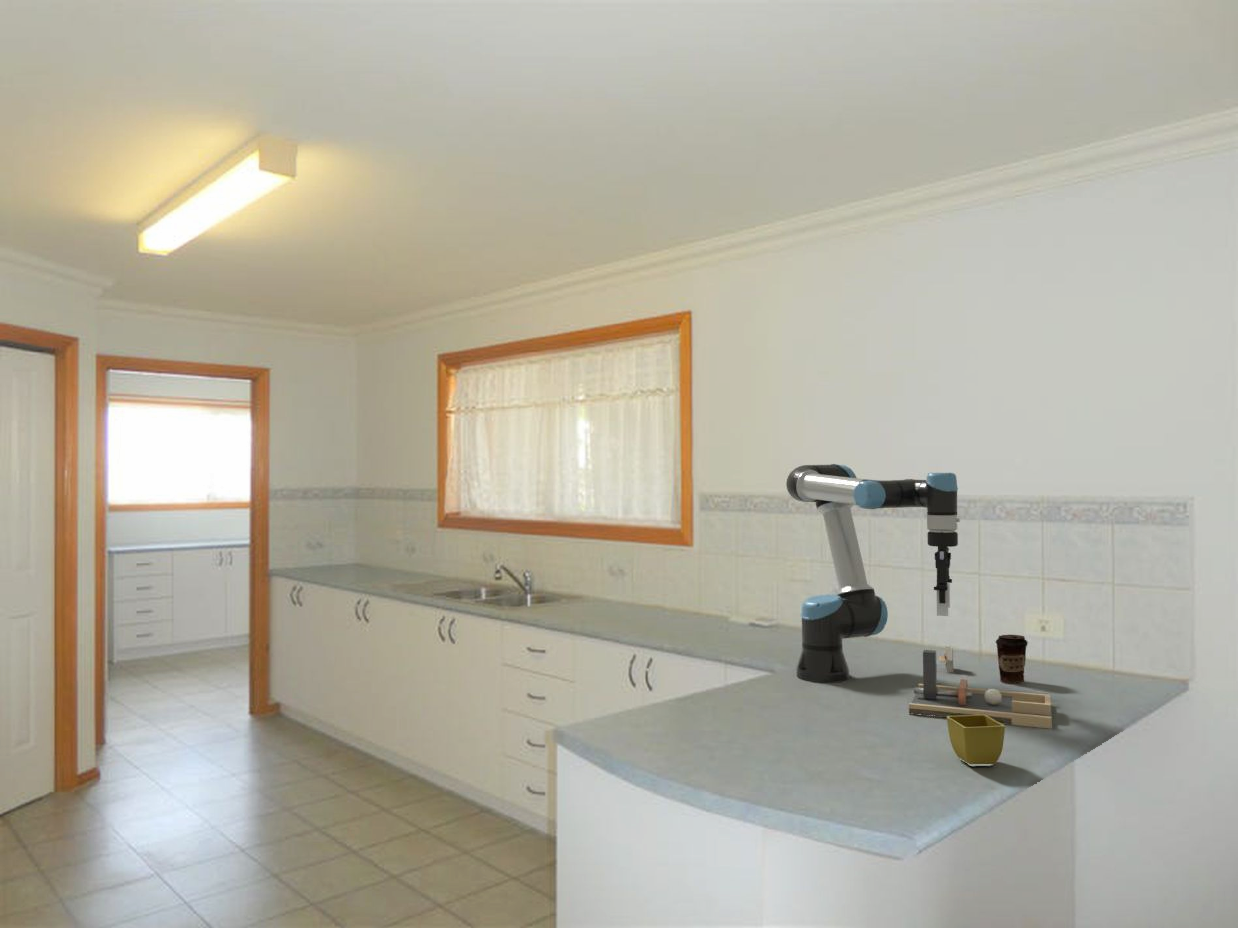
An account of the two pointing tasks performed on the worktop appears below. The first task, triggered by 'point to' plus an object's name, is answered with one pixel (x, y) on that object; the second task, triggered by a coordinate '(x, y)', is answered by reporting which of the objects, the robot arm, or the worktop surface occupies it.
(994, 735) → the flower pot
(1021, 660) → the coffee cup
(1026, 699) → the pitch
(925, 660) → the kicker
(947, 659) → the architectural model
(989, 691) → the ball
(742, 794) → the worktop surface
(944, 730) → the worktop surface
